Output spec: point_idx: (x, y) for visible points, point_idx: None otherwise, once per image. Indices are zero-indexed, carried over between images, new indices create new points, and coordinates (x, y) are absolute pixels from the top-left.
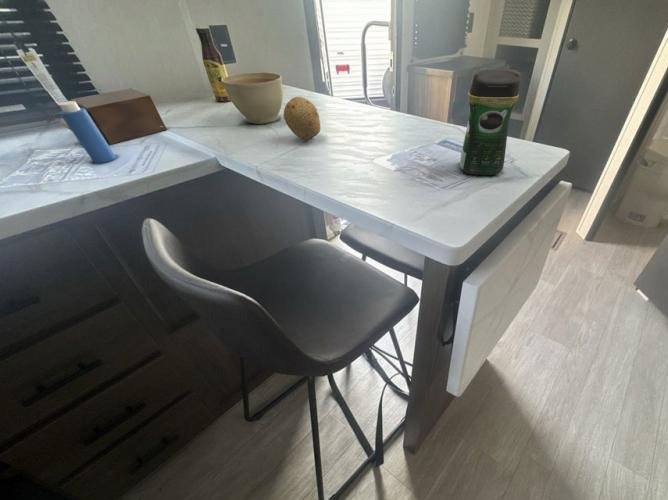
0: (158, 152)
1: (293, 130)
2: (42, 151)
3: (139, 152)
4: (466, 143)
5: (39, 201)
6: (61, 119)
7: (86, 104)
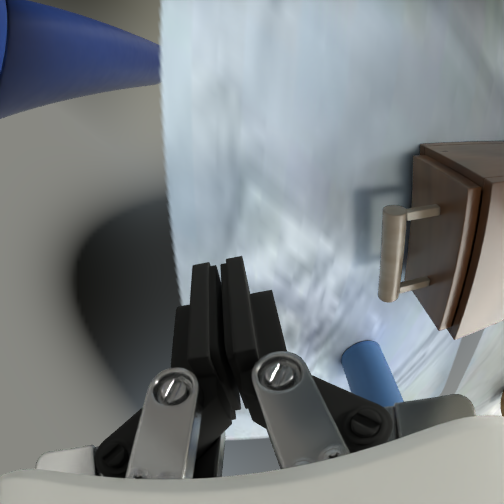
0: (426, 362)
1: (501, 405)
2: (265, 211)
3: (412, 350)
4: None
5: (242, 430)
6: (397, 224)
7: (474, 304)
